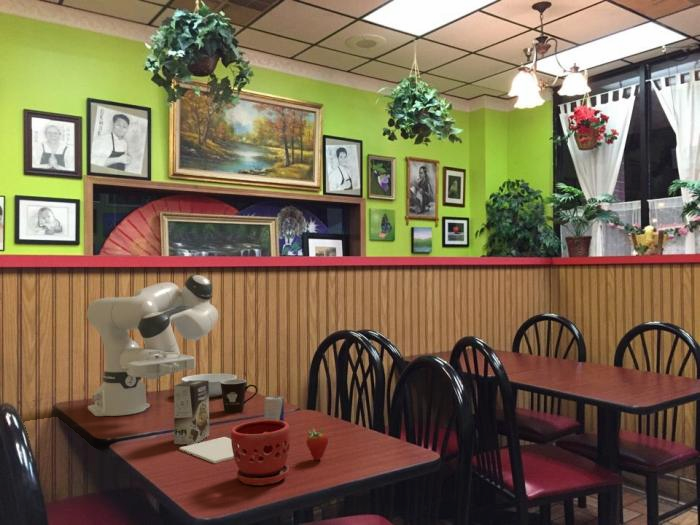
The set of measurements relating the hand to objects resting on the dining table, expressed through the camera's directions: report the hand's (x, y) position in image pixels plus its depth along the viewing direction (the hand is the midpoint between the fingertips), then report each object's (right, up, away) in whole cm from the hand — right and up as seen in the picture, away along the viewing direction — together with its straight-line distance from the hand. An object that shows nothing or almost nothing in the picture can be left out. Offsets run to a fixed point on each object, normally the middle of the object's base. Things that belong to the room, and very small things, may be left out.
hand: (174, 368), depth 175 cm
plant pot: (+31, -18, -40) cm, 54 cm away
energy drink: (+30, -19, -10) cm, 37 cm away
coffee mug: (+13, -19, +27) cm, 36 cm away
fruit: (+43, -18, -27) cm, 54 cm away
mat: (+17, -18, -18) cm, 31 cm away
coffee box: (+7, -19, -7) cm, 22 cm away
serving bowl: (-3, -20, +56) cm, 60 cm away
